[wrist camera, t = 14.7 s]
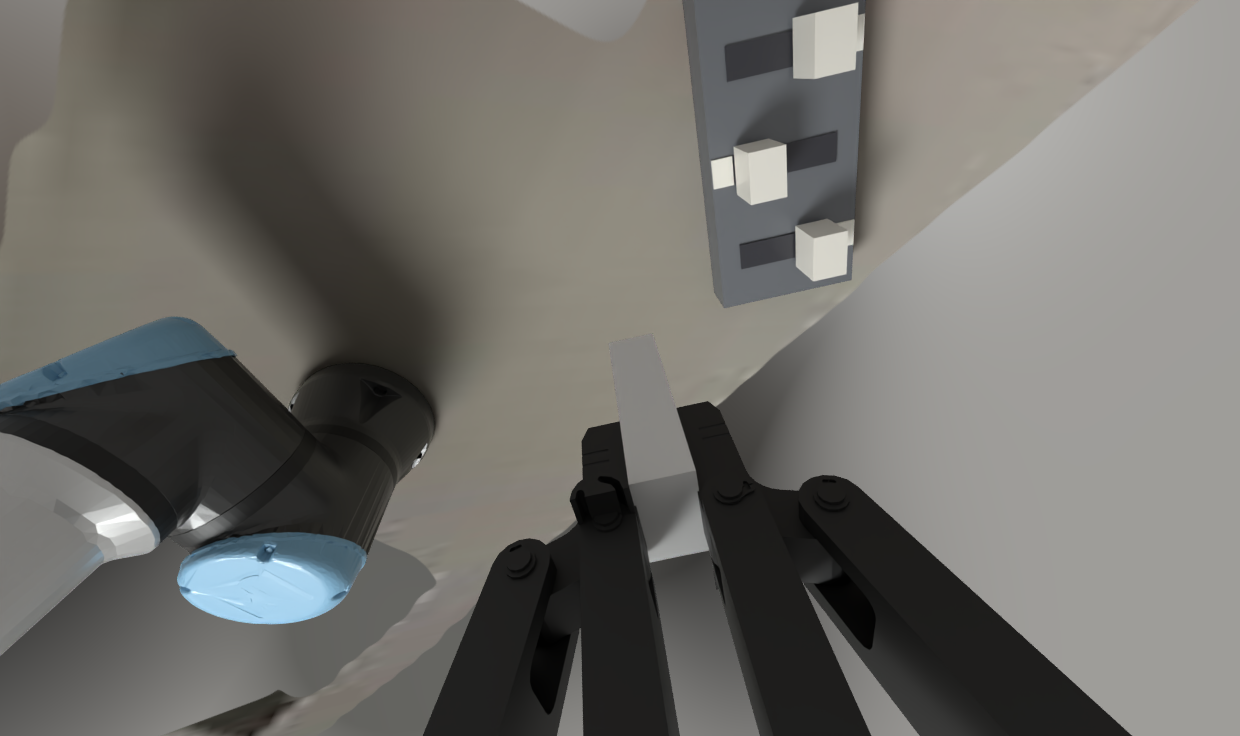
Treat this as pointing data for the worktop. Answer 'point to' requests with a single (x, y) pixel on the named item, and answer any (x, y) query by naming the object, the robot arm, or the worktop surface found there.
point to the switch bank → (779, 110)
